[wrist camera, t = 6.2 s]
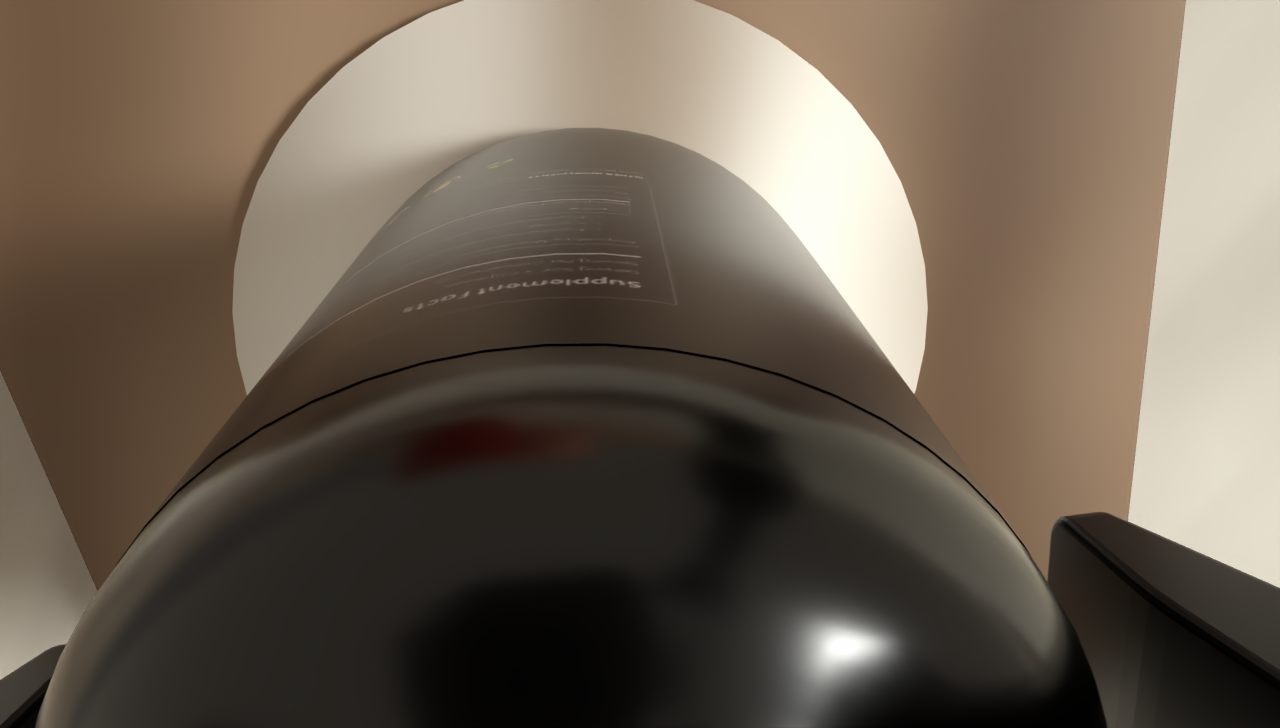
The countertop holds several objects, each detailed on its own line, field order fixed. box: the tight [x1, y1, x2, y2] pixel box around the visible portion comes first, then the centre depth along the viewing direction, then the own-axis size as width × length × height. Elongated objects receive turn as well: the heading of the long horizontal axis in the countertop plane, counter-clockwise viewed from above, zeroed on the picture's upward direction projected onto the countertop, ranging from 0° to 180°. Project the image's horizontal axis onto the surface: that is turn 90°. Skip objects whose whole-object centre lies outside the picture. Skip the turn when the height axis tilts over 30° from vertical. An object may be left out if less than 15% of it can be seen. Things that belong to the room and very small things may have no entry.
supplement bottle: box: [35, 128, 1108, 728], centre depth 8 cm, size 7×7×12 cm
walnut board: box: [0, 0, 1186, 590], centre depth 14 cm, size 17×16×2 cm
